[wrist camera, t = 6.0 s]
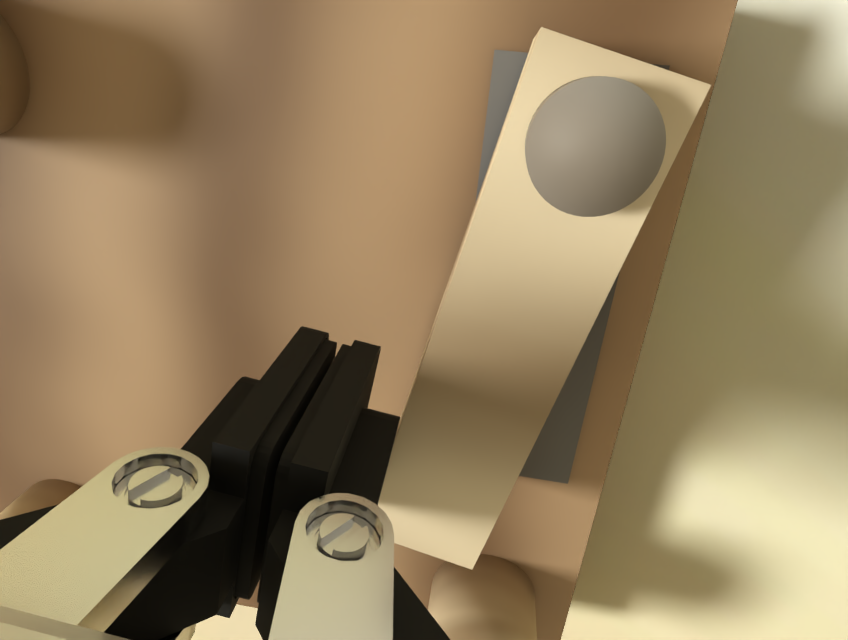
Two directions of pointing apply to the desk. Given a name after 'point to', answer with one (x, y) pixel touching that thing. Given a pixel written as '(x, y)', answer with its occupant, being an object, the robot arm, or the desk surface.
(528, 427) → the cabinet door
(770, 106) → the desk surface
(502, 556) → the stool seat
